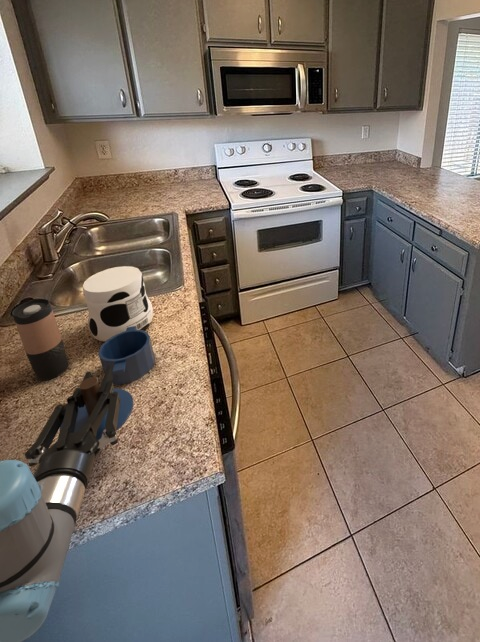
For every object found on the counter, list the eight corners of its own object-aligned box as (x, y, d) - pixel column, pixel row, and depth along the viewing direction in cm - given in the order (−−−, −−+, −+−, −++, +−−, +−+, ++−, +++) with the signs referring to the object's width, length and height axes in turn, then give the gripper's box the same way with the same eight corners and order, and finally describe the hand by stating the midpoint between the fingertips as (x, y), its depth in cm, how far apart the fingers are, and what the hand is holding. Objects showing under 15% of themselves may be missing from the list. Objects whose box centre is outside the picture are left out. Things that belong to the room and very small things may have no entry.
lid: (50, 457, 64) (35, 419, 61) (73, 401, 75) (62, 366, 72) (127, 437, 67) (117, 400, 64) (139, 386, 79) (131, 353, 76)
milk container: (102, 317, 117) (89, 269, 111) (158, 308, 121) (149, 261, 115) (84, 353, 101) (68, 299, 95) (150, 341, 106) (138, 288, 100)
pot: (97, 400, 86) (89, 374, 84) (113, 352, 102) (107, 328, 99) (150, 387, 90) (144, 362, 87) (158, 343, 105) (153, 320, 102)
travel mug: (59, 356, 100) (39, 295, 94) (76, 365, 97) (56, 302, 90) (28, 375, 94) (4, 311, 87) (45, 385, 91) (21, 319, 84)
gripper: (0, 525, 52) (60, 398, 73) (122, 489, 57) (145, 379, 78) (-17, 491, 50) (50, 369, 71) (112, 456, 54) (138, 351, 75)
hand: (99, 374), depth 74 cm, fingers closed on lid, 3 cm apart
